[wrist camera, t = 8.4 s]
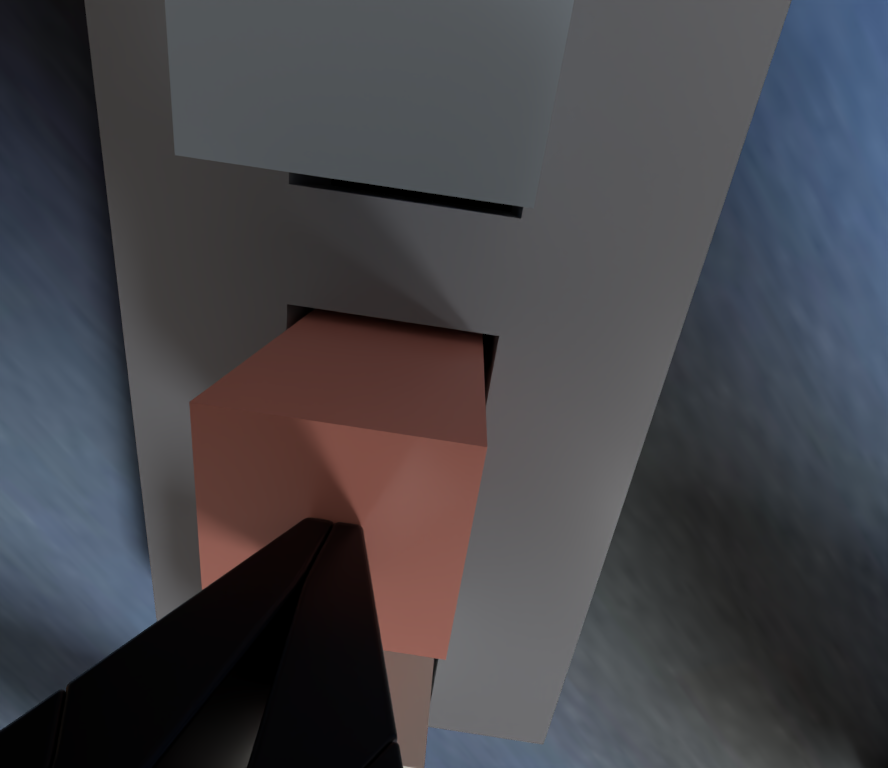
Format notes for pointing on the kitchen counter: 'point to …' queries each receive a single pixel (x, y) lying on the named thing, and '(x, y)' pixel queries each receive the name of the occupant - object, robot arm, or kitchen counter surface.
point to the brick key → (351, 458)
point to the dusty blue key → (371, 89)
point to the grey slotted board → (450, 305)
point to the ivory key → (410, 703)
